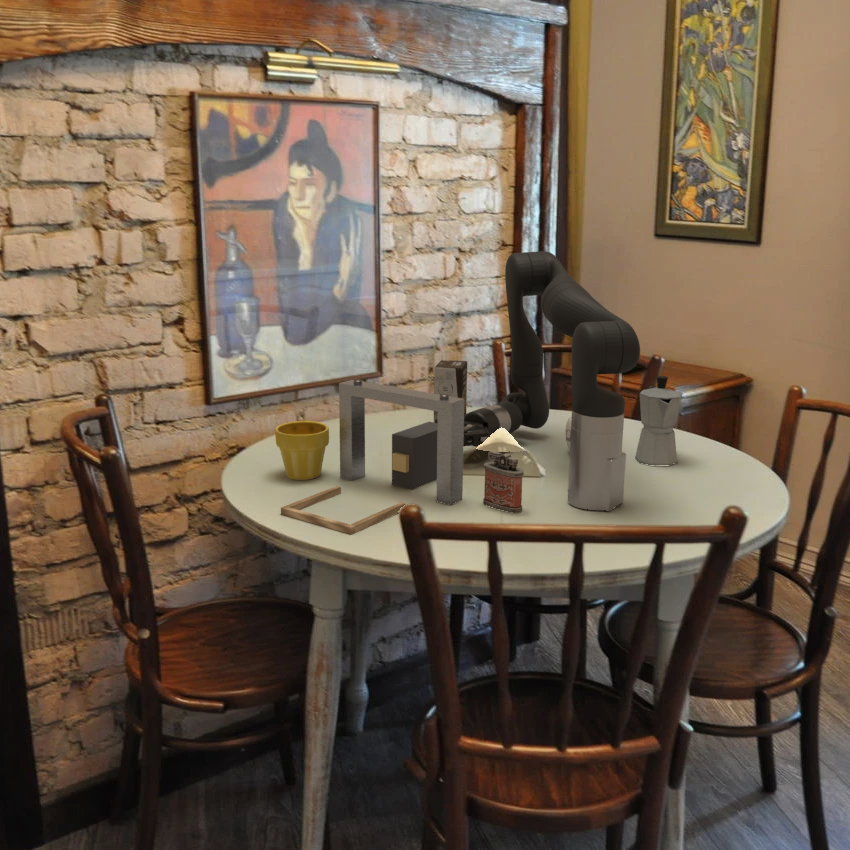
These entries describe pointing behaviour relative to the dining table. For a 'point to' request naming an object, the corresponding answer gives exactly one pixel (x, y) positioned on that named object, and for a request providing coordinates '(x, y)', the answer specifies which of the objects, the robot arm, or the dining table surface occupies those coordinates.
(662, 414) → the coffee maker
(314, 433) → the plant pot
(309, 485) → the dining table surface
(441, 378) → the coffee box
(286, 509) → the bay
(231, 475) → the dining table surface
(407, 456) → the dark grey box
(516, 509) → the lighter
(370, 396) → the grey metal arch
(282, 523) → the dining table surface
